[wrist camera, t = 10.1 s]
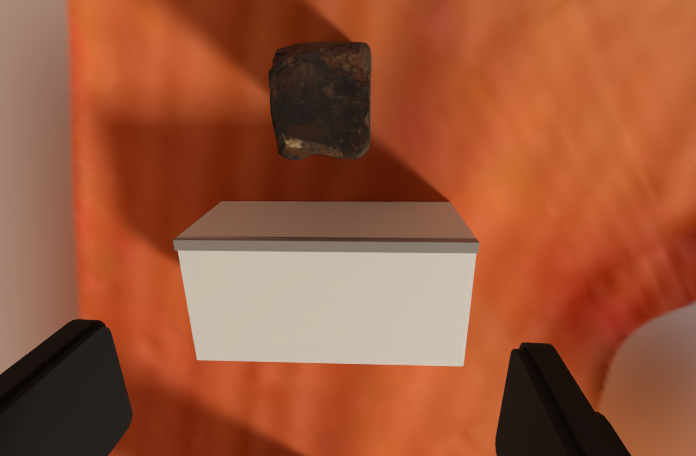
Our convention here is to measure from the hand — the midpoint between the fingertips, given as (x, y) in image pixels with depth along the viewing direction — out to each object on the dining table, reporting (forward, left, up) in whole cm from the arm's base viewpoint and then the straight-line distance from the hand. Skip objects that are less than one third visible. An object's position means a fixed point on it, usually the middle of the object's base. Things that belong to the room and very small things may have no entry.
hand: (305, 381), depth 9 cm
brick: (0, -3, -13) cm, 14 cm away
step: (+1, +5, -19) cm, 19 cm away
